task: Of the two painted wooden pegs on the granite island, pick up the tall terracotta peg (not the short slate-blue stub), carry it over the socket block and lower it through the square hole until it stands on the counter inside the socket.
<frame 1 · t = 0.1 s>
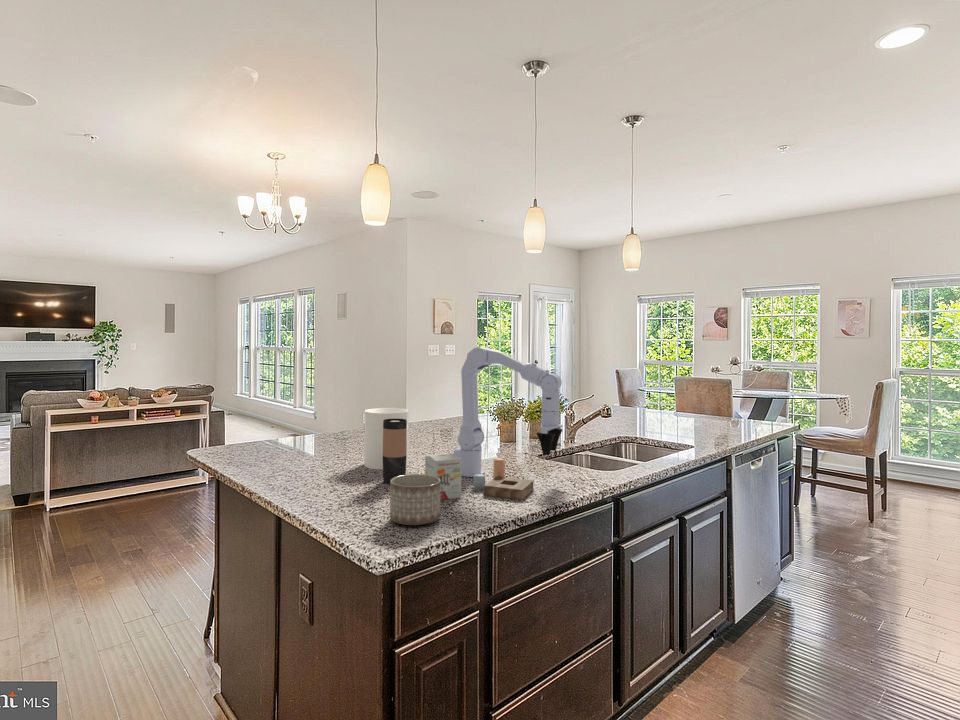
hand: (549, 452, 174), 10 cm above the counter, fingers open, 7 cm apart
long peg: (498, 484, 173), on the counter
socket block: (508, 492, 163), on the counter
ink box: (442, 496, 159), on the counter
travel mug: (394, 482, 174), on the counter
canister: (386, 465, 198), on the counter
planter: (415, 521, 136), on the counter
short peg: (479, 488, 168), on the counter
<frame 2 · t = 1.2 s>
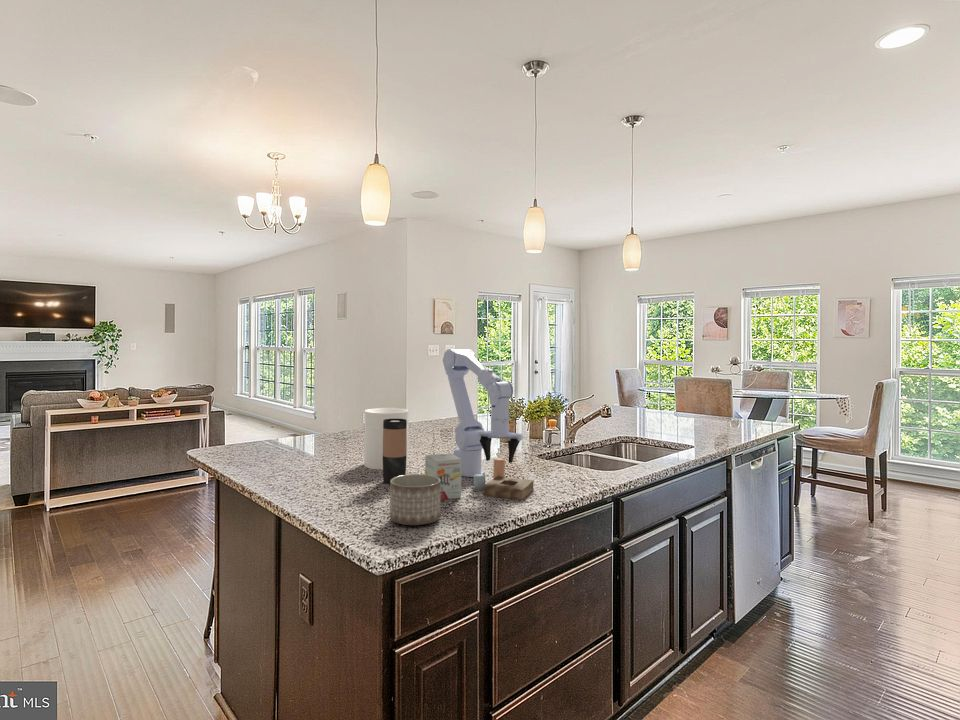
hand: (499, 461, 172), 7 cm above the counter, fingers open, 7 cm apart
nothing on the counter moved.
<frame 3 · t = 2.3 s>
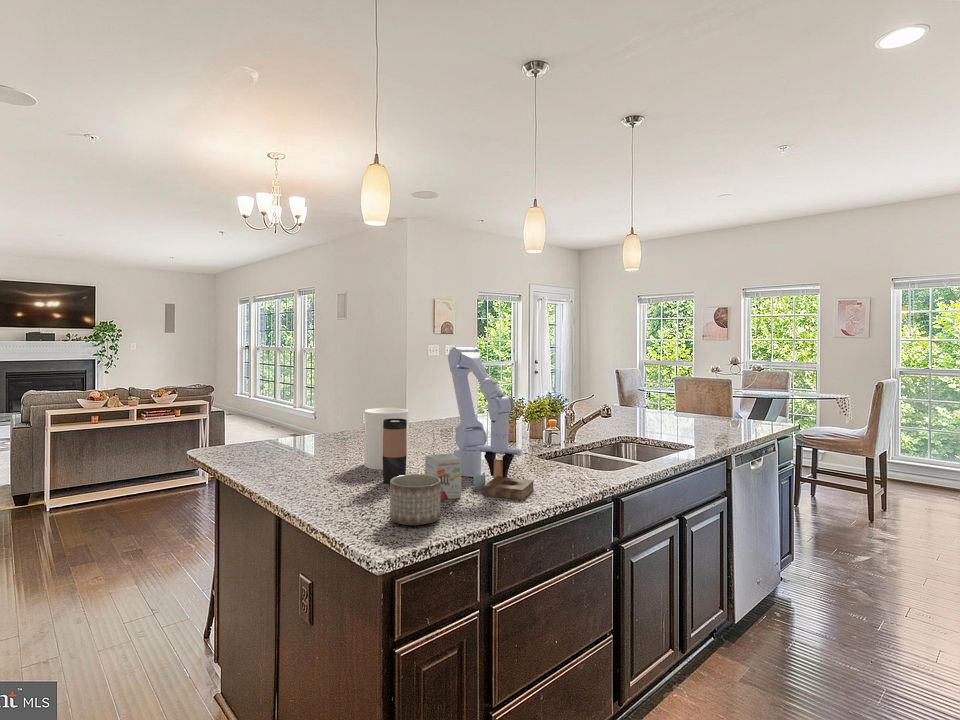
hand: (498, 476, 173), 3 cm above the counter, fingers closed on long peg, 4 cm apart
long peg: (498, 484, 173), on the counter, touching gripper
everything else where it was.
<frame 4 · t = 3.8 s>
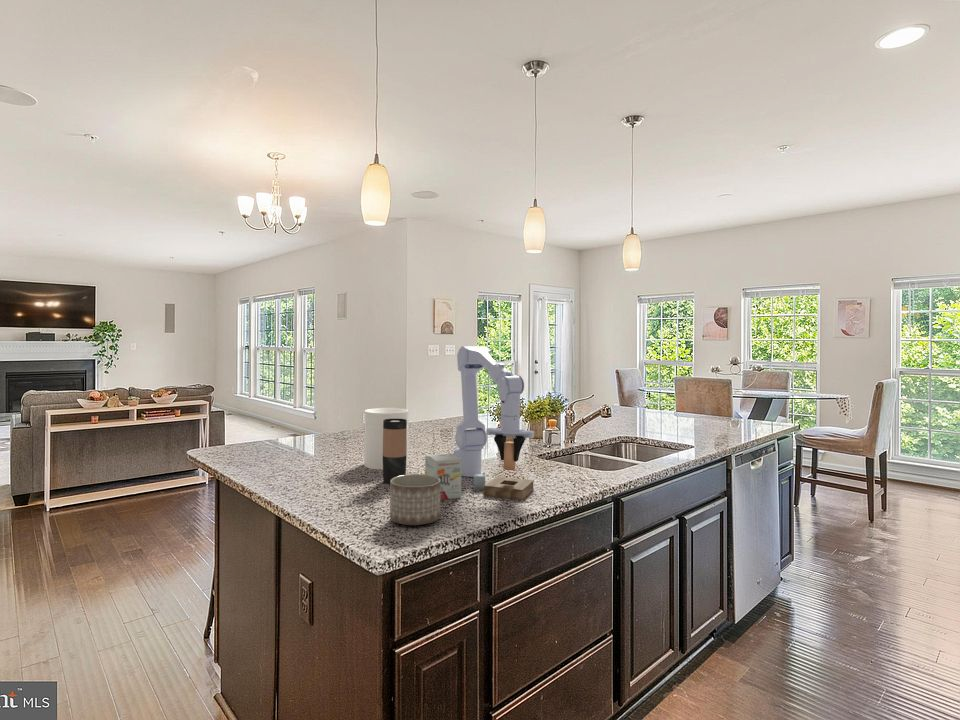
hand: (509, 460, 163), 10 cm above the counter, fingers closed on long peg, 4 cm apart
long peg: (509, 468, 163), point 7 cm above the counter, touching gripper
everything else where it was.
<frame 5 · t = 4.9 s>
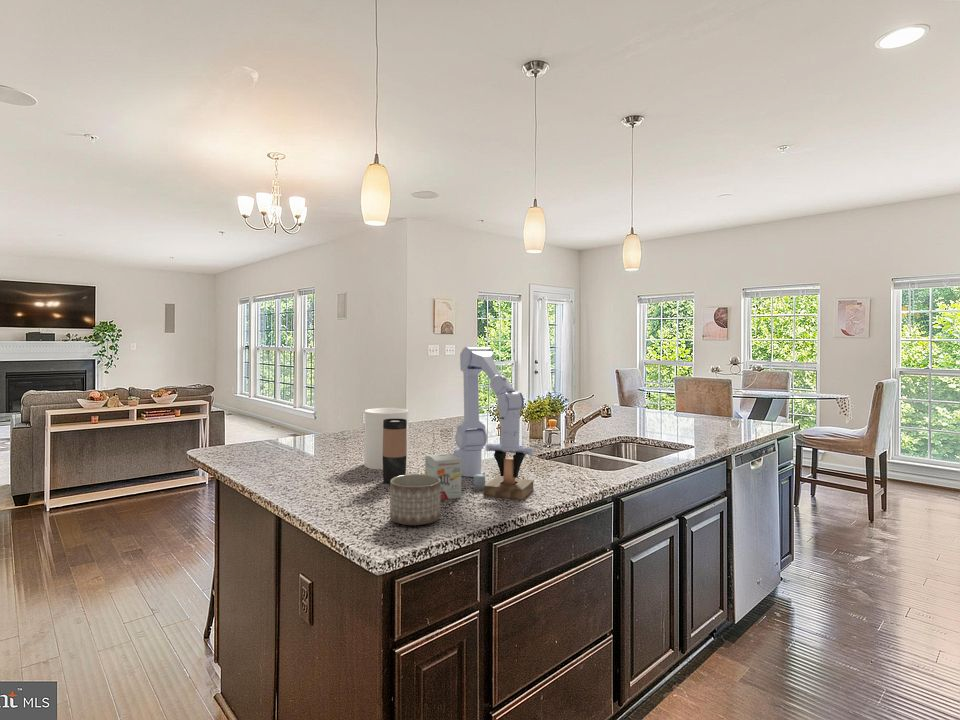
hand: (509, 476, 163), 5 cm above the counter, fingers closed on long peg, 4 cm apart
long peg: (509, 485, 163), point 2 cm above the counter, touching gripper
everything else where it was.
when the fingers open (4 cm above the counter, at t = 5.7 s): long peg stays where it is, resting in socket block.
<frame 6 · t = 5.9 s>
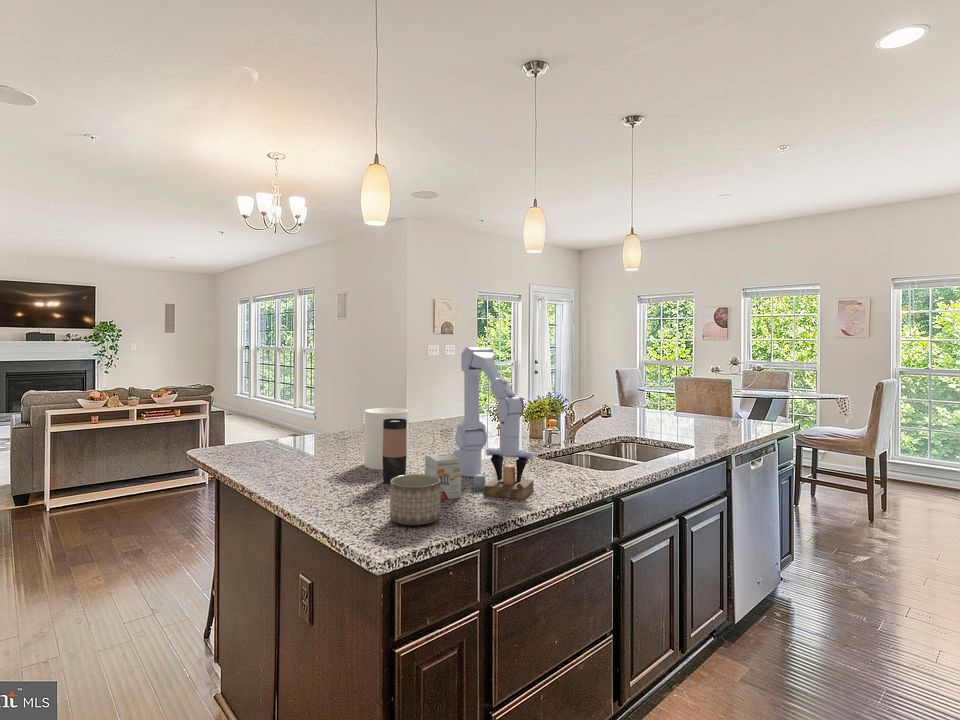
hand: (509, 480, 163), 4 cm above the counter, fingers open, 5 cm apart
long peg: (508, 492, 163), resting in socket block
everything else where it was.
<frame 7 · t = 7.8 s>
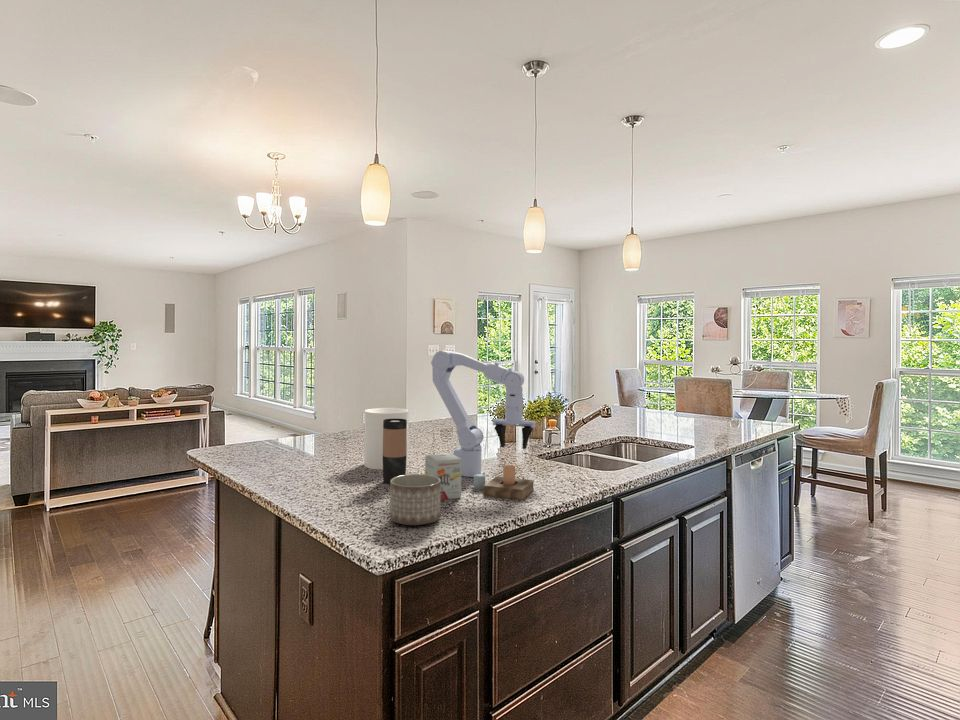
hand: (513, 447, 180), 10 cm above the counter, fingers open, 7 cm apart
nothing on the counter moved.
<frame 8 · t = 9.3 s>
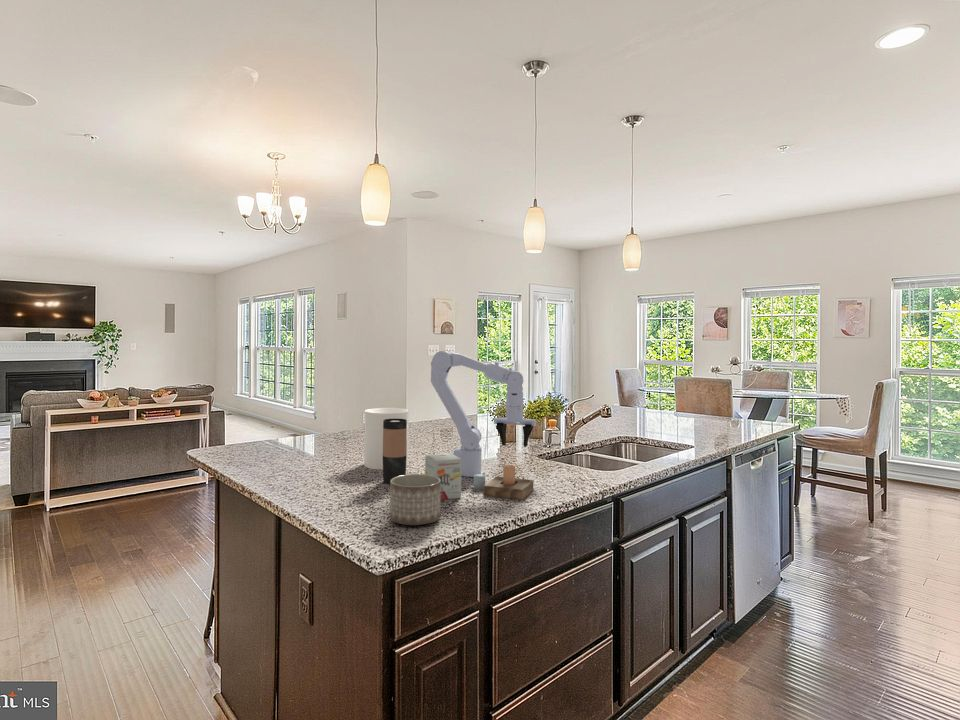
hand: (514, 445, 183), 10 cm above the counter, fingers open, 7 cm apart
nothing on the counter moved.
at the end: long peg 0.0 cm off-centre on the socket block, point 0.0 cm above the socket block's base; long peg tilted 0°; short peg moved 0.1 cm from its start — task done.
